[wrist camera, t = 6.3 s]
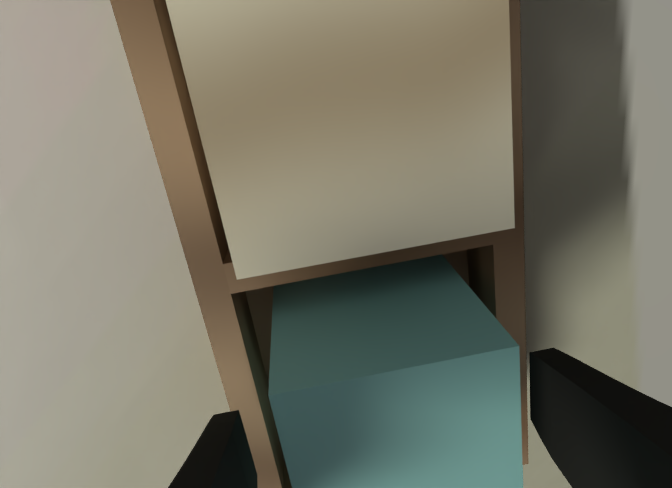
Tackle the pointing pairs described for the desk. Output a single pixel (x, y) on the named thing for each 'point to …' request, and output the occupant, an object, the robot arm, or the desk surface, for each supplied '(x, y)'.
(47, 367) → the desk surface
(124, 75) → the desk surface
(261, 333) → the walnut puzzle board
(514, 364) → the teal block
